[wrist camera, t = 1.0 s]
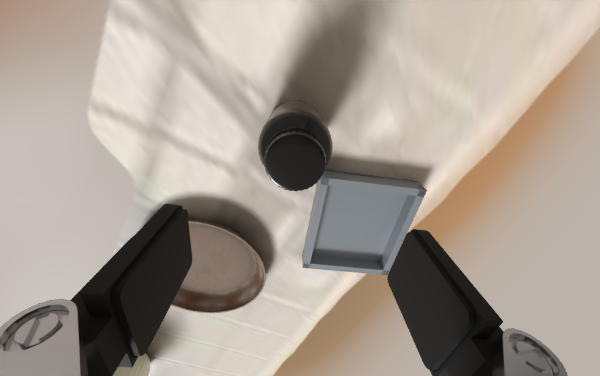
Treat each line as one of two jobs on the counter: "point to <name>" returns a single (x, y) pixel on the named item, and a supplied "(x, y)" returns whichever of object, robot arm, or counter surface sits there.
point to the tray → (359, 222)
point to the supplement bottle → (295, 146)
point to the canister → (135, 368)
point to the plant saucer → (219, 271)
